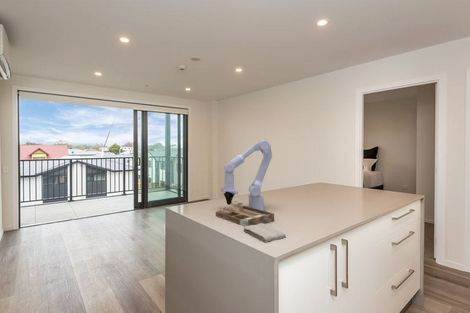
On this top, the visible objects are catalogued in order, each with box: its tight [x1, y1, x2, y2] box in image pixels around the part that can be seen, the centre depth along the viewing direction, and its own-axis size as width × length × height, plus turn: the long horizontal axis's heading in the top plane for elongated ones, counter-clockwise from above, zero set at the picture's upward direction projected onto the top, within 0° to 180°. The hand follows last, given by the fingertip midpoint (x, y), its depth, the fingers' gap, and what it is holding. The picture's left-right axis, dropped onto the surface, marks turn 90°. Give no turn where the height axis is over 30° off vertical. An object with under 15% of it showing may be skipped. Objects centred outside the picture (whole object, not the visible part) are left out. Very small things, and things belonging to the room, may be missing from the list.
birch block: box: [230, 200, 244, 210], centre depth 147 cm, size 5×5×4 cm
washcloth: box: [243, 223, 287, 243], centre depth 111 cm, size 12×18×3 cm, turn 31°
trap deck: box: [215, 205, 275, 227], centre depth 136 cm, size 18×28×4 cm, turn 40°
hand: (229, 204), depth 153 cm, fingers closed
